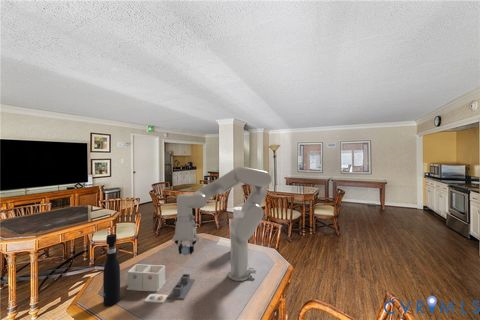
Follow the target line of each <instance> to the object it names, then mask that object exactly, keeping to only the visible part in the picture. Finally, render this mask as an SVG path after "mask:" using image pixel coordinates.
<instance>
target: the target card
mask: <svg viewBox="0 0 480 320" xmlns="http://www.w3.org/2000/svg"><path fill="white" fill-rule="evenodd" d="M168 295H169V294H160V293H158V294H157V293H149V294H148V295H147V297H146V298H145V299H144V301H143V302H144V303H145V302H147V303H158V304H159V303H161V304H163V303H164V302H165V301H166V299H167V297H168Z"/></svg>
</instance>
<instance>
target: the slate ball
mask: <svg viewBox="0 0 480 320" xmlns="http://www.w3.org/2000/svg"><path fill="white" fill-rule="evenodd" d="M181 252H182V253H181V255H183V256H188V255H191V254H190V244H184V245H183V247H182V249H181Z"/></svg>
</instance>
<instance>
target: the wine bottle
mask: <svg viewBox="0 0 480 320" xmlns="http://www.w3.org/2000/svg"><path fill="white" fill-rule="evenodd" d="M105 239H106V245H107V253H106V261H105V264H104V268H103V271H102V272H103V273H102V274H103V282H102V283H103V284H102V285H103V288H102V289H103V293H102V294H103V306H104V307H107V308H108V307H112V306H116V305H117V304H118V303H119V302H120V301H121V266H120V262H119V260H118V258H117V248H116V243H117V240H118V239H117V234H116V233H111V234H107V235H106V238H105Z"/></svg>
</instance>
